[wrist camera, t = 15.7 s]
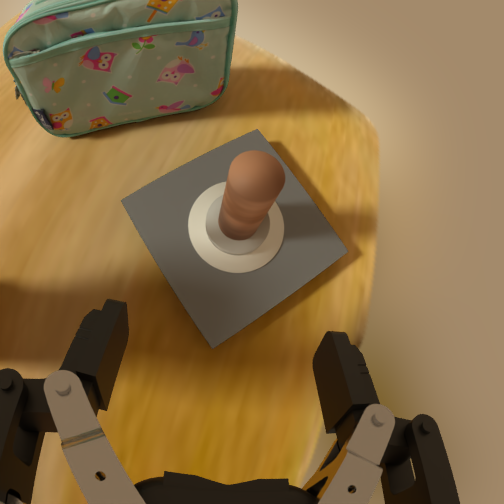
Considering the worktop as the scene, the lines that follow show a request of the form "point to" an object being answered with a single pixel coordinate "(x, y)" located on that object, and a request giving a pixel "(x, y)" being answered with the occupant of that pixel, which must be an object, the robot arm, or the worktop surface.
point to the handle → (245, 203)
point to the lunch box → (119, 59)
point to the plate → (222, 264)
